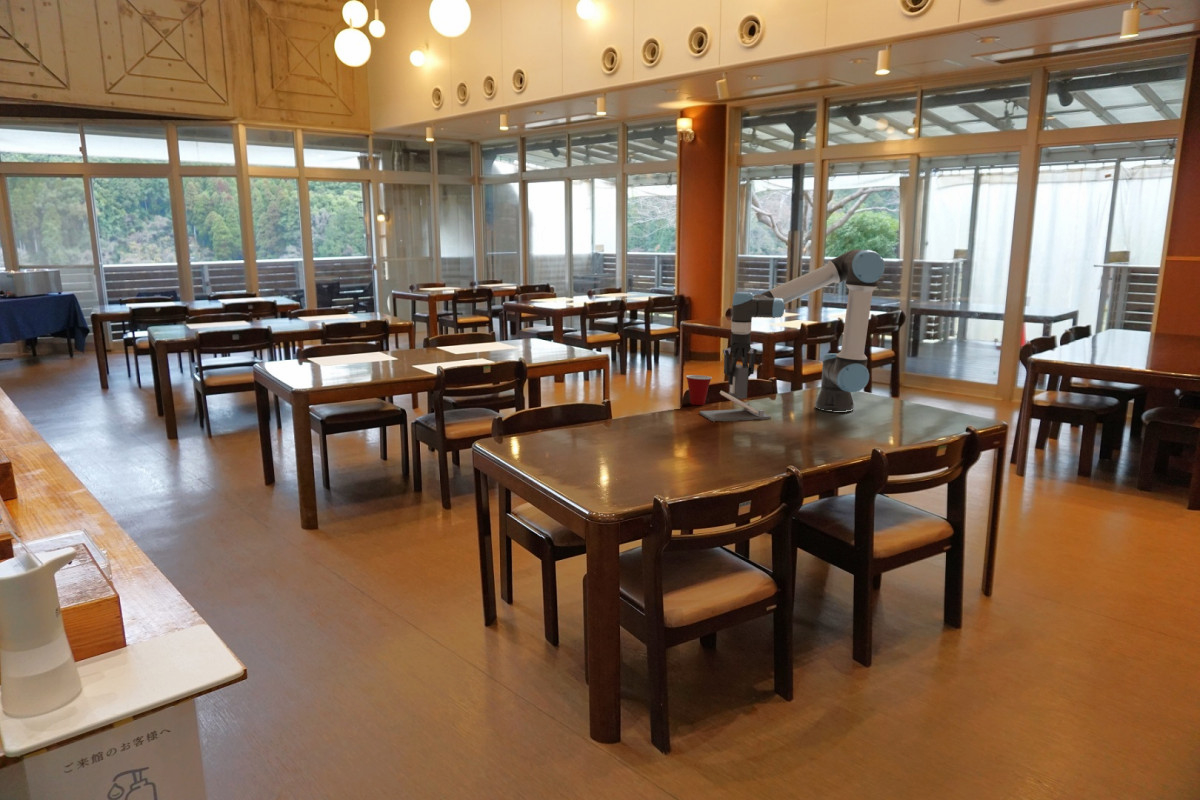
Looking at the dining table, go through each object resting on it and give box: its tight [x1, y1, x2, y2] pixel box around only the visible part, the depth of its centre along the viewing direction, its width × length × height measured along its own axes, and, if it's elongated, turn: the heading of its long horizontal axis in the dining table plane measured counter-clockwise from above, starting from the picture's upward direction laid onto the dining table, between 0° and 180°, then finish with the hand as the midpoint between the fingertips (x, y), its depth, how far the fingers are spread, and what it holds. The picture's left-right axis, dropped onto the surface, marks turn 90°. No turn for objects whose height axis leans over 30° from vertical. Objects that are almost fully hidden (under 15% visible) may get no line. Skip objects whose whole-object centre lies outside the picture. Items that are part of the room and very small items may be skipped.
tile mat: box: [699, 402, 772, 423], centre depth 307 cm, size 24×14×4 cm, turn 105°
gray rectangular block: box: [728, 363, 749, 400], centre depth 304 cm, size 4×8×12 cm, turn 15°
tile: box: [719, 390, 759, 414], centre depth 306 cm, size 2×11×14 cm
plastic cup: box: [685, 374, 713, 406], centre depth 327 cm, size 11×11×12 cm
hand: (737, 392), depth 305 cm, fingers closed on gray rectangular block, 4 cm apart
